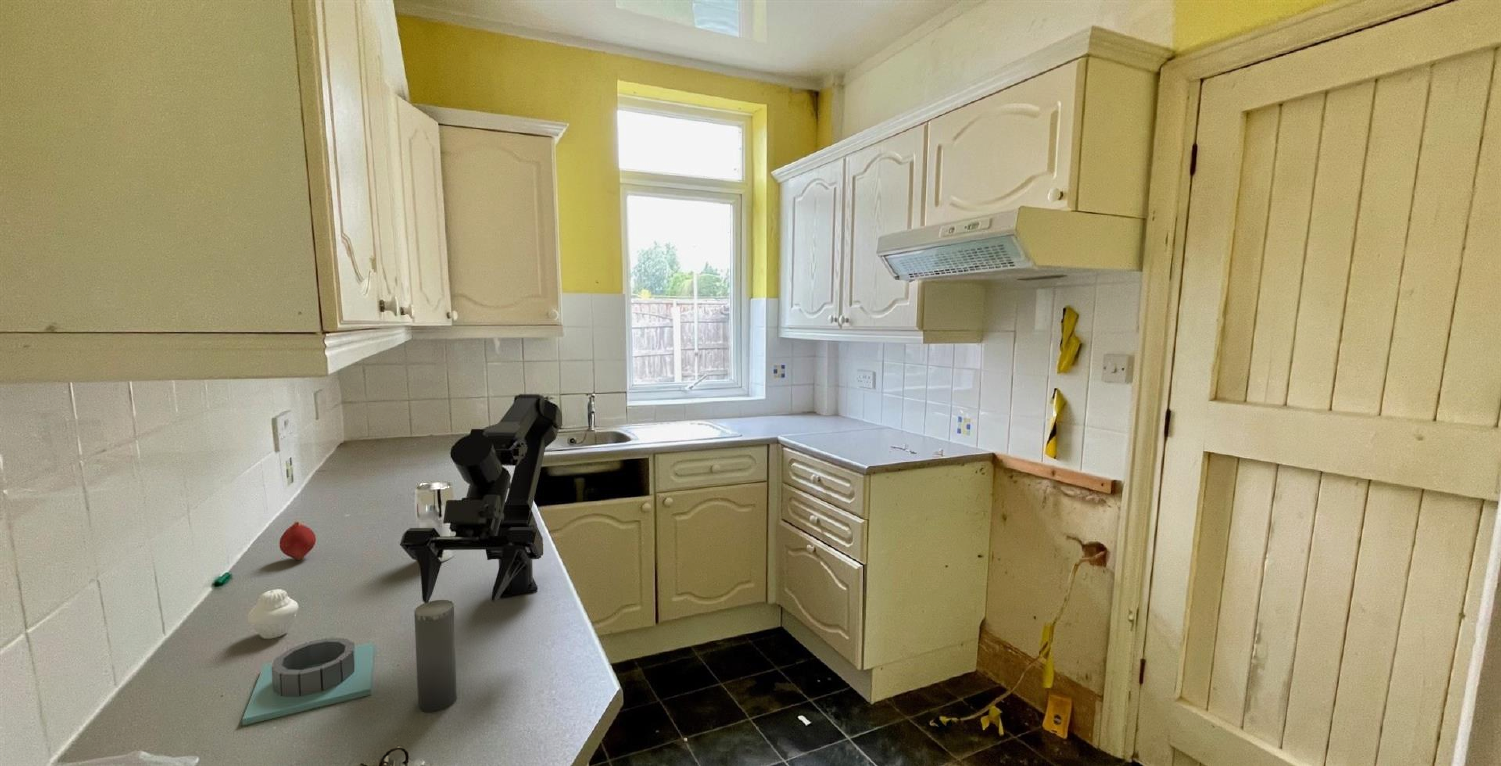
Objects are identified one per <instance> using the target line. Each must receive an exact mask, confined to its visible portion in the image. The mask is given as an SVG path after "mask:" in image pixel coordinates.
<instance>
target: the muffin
mask: <svg viewBox="0 0 1501 766" xmlns="http://www.w3.org/2000/svg"><path fill="white" fill-rule="evenodd" d="M298 611H299V604H298V602H297V601H296V600H294V599H292V598H291V597H289V596H288V593H287V592H286V591H285V590H284V589H280V588H279V589H271V590H268V591H265V592H263V593H262V594H261V595H260V596H259V597H258V598H257V602H256V604H255V606H254V607H253V608H252V609H251V610H250V611H249V613H248V614H247V621H248V622H249V623H250V626H251V627H252V628H253V630H255V631H256V632H257V634H258V635H259V636H260V638H262V639H269V640H271V639H276V638H279V637H281V636H283V635H286V634H287V633H288V632H289V630H290V628H291V626H292V624H293V622H294V621H295V619H296V617H297V613H298Z"/></svg>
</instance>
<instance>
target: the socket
mask: <svg viewBox="0 0 1501 766" xmlns="http://www.w3.org/2000/svg"><path fill="white" fill-rule="evenodd" d="M375 649H376V644H375V642H368V643H363V644H360V645H359V644H358V645H355V643H354V642H353V641H351V640H349V639H348V638H344V637H343V638H342V637H329V638H328V637H327V638H321V639H316V640H311V641H308V642H304V643H302V644H299V645H296V646H294V647H292V648H289V649H287V650H285V651H284V652H283V653H282V654H280V655H278V656H277V657H276V658H274V660H273V662H272V663H267V664H264V665H263V666H262V669H261V672H260V674H259V676H258V679H257V682H256V684H255V687H254V689H253V691H252V694H251V696H250V699H249V701H248V705H247V706H246V710H245V712H244V714H243V717H242V726H246V725H250V724H255V723H258V722H259V723H260V722H263V721H267V720H271V719H277V718H279V717H284V716H288V715H291V714H296V713H300V712H304V711H308V710H312V709H317V708H321V707H325V706H329V705H334V704H336V703H337V704H338V703H341V702H345V701H350V700H354V699H359V698H362V697H367V696H370V695H371V694H372V684H373V672H374V663H375V662H374V661H375Z"/></svg>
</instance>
